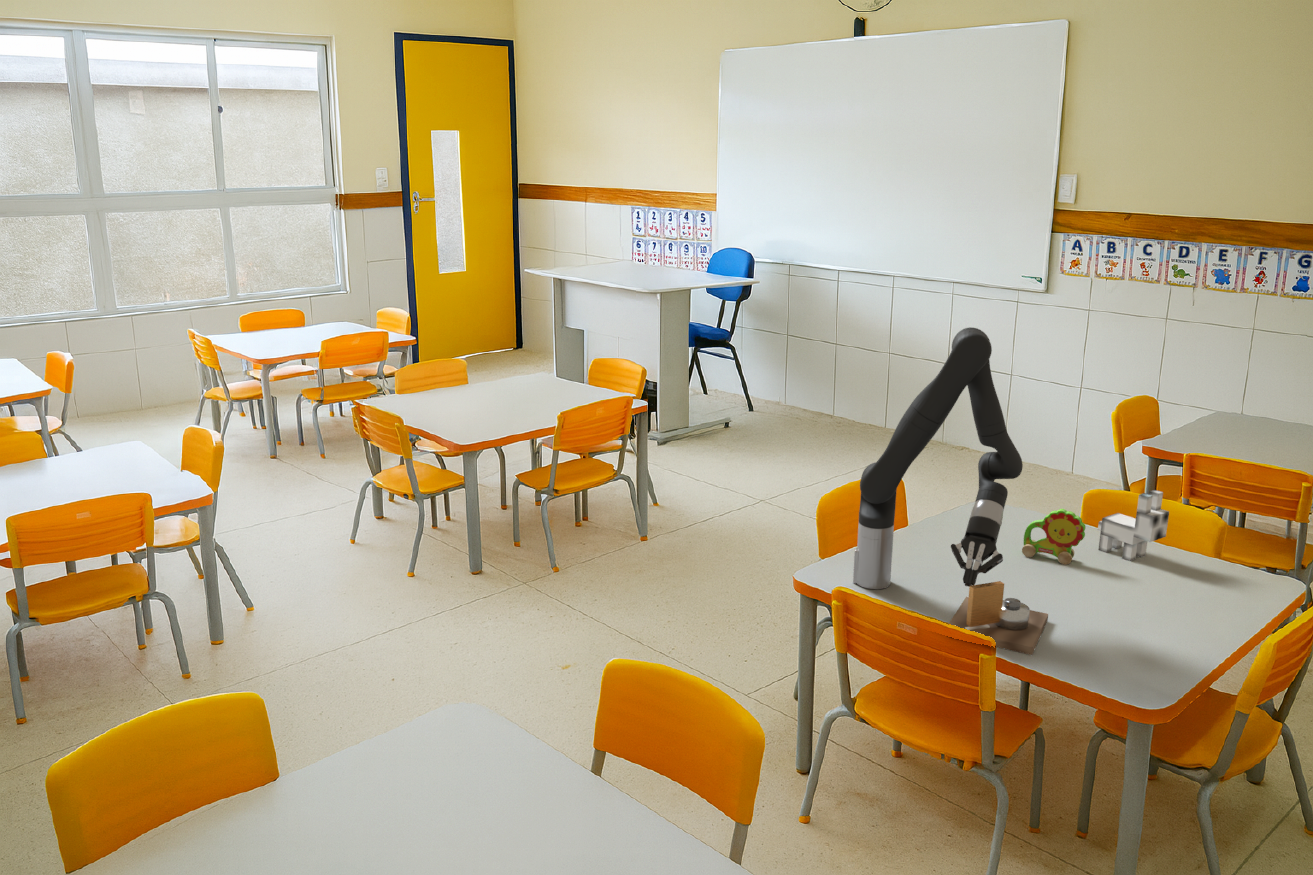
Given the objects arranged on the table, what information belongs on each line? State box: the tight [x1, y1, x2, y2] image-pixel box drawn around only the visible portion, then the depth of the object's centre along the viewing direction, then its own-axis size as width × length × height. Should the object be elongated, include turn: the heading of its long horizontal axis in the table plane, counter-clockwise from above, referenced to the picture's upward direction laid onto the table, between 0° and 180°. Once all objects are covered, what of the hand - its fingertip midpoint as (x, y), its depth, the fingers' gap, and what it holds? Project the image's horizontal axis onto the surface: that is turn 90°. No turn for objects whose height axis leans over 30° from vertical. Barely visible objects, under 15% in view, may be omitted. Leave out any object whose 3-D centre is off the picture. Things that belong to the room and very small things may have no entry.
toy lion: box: [1021, 508, 1086, 566], centre depth 281 cm, size 16×5×15 cm, turn 58°
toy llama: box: [1097, 489, 1170, 562], centre depth 283 cm, size 8×18×20 cm, turn 33°
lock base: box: [948, 596, 1049, 656], centre depth 241 cm, size 20×20×2 cm
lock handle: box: [966, 580, 1031, 630], centre depth 237 cm, size 16×8×11 cm, turn 108°
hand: (968, 585), depth 238 cm, fingers closed
